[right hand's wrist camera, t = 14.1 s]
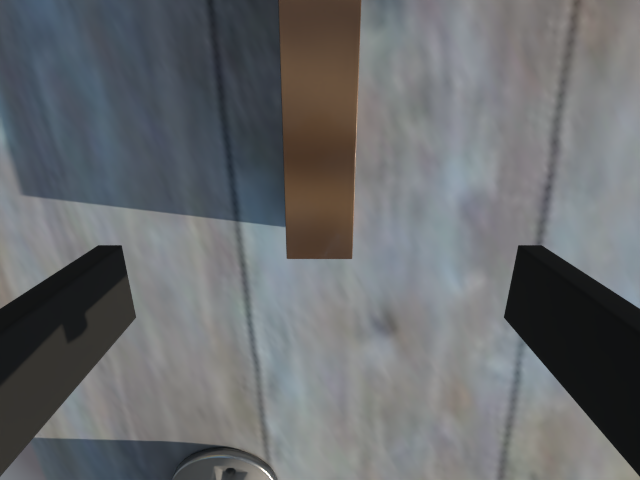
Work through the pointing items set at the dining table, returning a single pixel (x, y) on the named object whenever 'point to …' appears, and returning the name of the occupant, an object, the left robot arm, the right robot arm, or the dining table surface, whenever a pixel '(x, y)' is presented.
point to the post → (319, 124)
